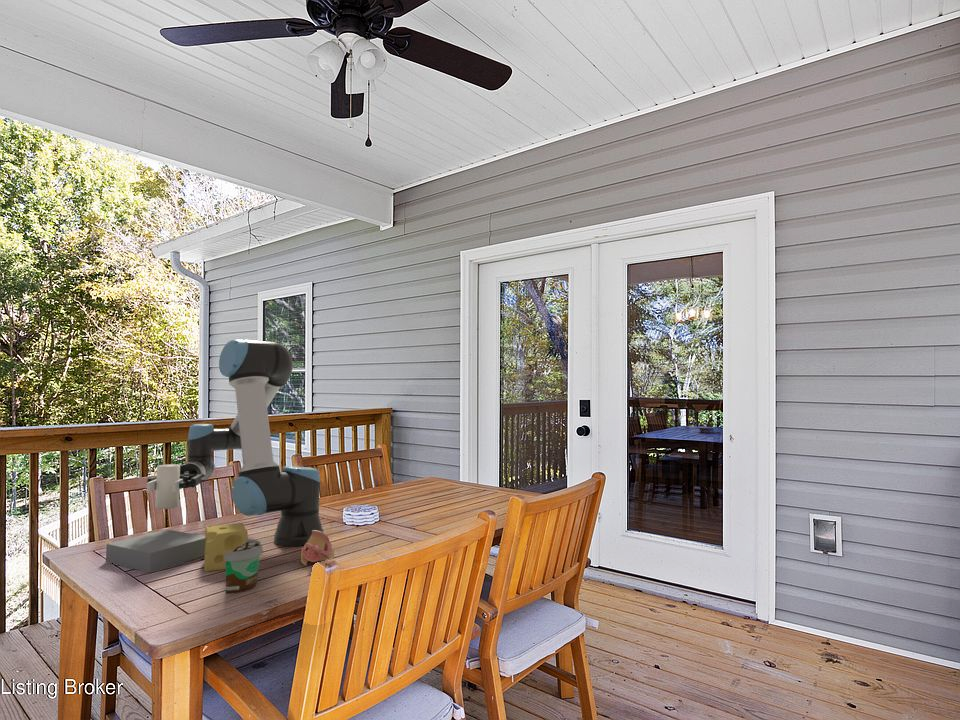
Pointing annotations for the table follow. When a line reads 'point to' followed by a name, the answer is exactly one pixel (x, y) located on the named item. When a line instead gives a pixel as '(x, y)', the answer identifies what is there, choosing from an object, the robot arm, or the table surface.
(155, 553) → the plinth
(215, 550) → the cheese
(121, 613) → the table surface
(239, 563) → the food container
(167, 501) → the ceramic jar
